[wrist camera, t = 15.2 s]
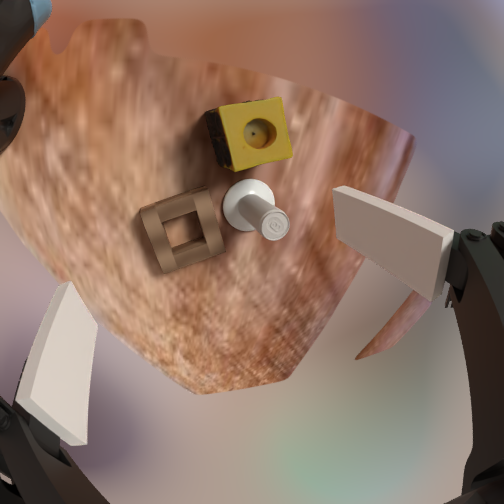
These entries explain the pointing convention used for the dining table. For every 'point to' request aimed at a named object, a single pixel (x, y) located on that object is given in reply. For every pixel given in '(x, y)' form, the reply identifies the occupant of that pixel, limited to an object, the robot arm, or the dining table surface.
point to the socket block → (190, 250)
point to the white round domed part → (237, 194)
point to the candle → (249, 133)
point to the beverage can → (264, 217)
